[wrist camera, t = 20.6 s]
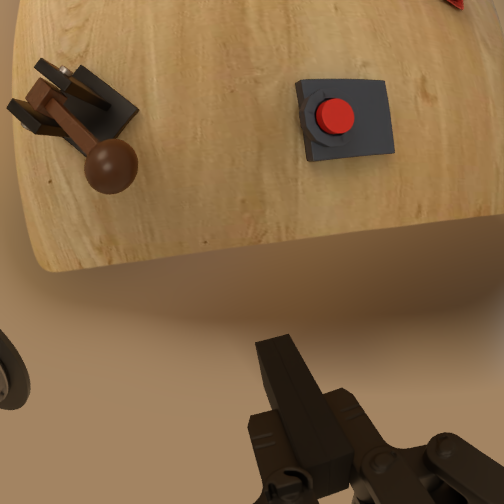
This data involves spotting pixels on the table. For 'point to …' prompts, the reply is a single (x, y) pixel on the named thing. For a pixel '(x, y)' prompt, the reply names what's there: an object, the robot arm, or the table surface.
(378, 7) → the table surface
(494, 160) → the table surface
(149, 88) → the table surface
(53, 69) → the bracket
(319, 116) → the button
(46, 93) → the lever
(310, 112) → the button block
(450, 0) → the butter dish
